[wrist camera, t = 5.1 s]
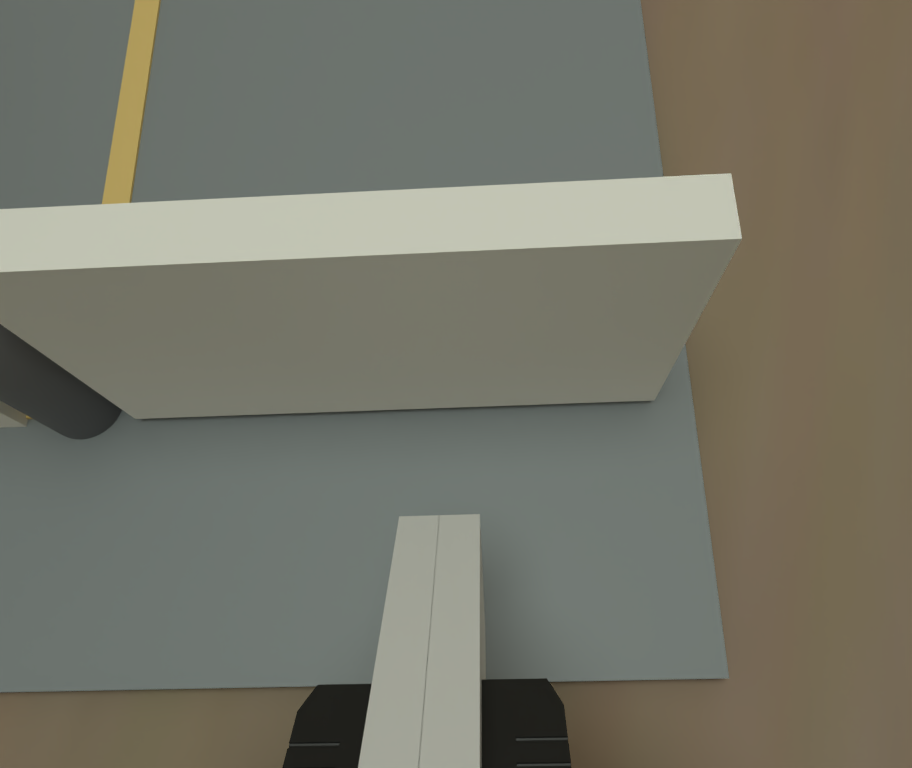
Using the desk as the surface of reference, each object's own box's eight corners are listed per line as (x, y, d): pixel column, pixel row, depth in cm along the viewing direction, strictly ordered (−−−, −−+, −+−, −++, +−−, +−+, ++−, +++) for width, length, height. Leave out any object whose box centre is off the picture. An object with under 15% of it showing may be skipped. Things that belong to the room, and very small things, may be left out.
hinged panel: (135, 418, 20) (-69, 275, 13) (140, 374, 20) (-54, 212, 13) (654, 400, 19) (741, 238, 12) (649, 355, 20) (731, 173, 13)
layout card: (-411, 700, 19) (-439, 700, 18) (-173, 2, 27) (-187, -13, 26) (722, 678, 18) (730, 678, 17) (630, -48, 26) (632, -64, 25)
